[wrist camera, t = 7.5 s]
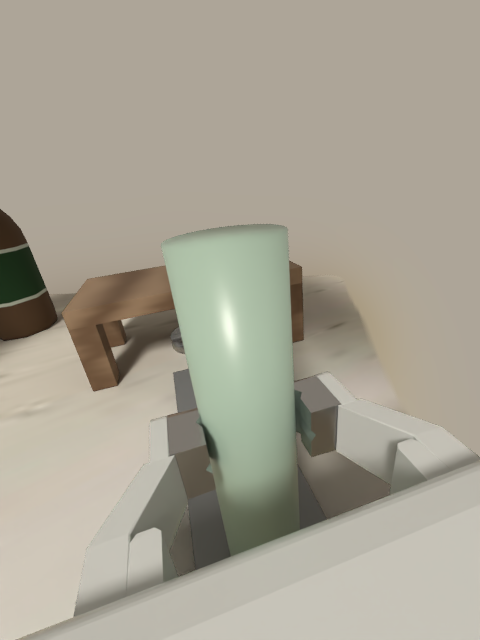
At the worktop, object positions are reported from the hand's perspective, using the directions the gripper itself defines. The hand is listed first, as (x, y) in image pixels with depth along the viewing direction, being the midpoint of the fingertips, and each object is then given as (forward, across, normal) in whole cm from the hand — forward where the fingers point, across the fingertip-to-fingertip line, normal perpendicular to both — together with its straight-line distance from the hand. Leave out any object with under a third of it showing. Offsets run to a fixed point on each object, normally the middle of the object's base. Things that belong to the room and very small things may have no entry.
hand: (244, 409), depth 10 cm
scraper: (+6, 0, +8) cm, 10 cm away
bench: (+21, 0, +8) cm, 23 cm away
